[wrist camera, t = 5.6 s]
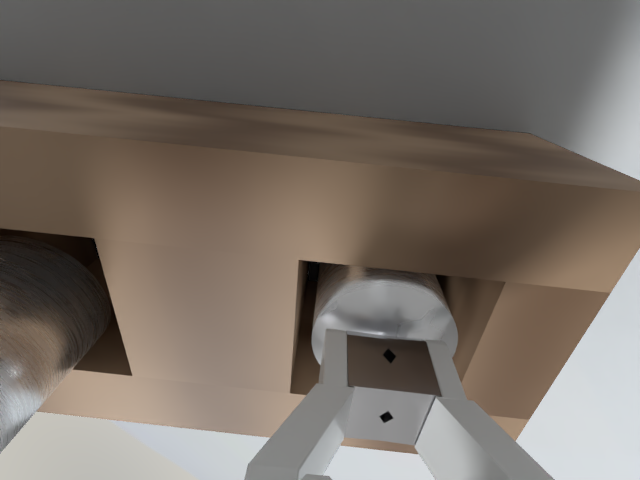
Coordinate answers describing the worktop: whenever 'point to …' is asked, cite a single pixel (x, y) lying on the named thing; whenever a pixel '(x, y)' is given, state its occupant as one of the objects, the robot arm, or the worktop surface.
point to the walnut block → (301, 245)
